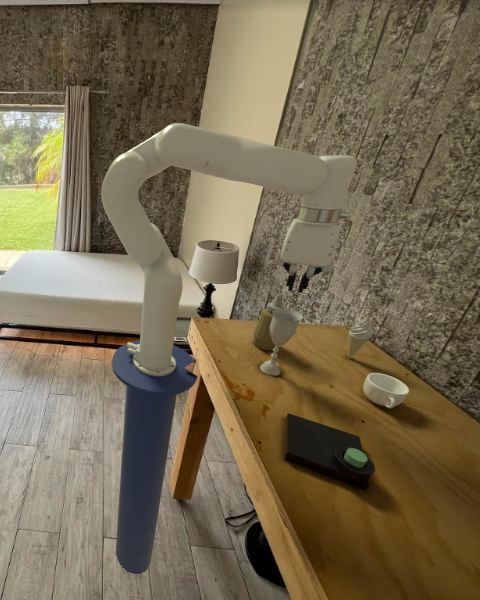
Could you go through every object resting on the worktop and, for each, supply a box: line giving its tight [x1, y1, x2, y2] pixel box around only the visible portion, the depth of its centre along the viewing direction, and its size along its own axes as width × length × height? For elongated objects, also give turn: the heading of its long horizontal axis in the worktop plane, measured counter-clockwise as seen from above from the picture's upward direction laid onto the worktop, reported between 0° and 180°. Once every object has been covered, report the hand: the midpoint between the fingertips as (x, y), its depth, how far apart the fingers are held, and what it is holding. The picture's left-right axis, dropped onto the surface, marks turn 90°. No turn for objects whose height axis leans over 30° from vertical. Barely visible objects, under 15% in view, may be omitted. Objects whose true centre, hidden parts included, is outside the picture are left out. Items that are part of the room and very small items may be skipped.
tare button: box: [344, 448, 368, 468], centre depth 59 cm, size 3×3×2 cm
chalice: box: [259, 307, 304, 376], centre depth 86 cm, size 7×7×18 cm
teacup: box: [362, 372, 410, 409], centre depth 77 cm, size 10×8×5 cm
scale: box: [283, 412, 376, 491], centre depth 65 cm, size 13×12×4 cm
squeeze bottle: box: [253, 293, 286, 351], centre depth 97 cm, size 8×8×18 cm
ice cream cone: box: [347, 314, 374, 359], centre depth 91 cm, size 5×5×15 cm
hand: (295, 289), depth 79 cm, fingers closed
